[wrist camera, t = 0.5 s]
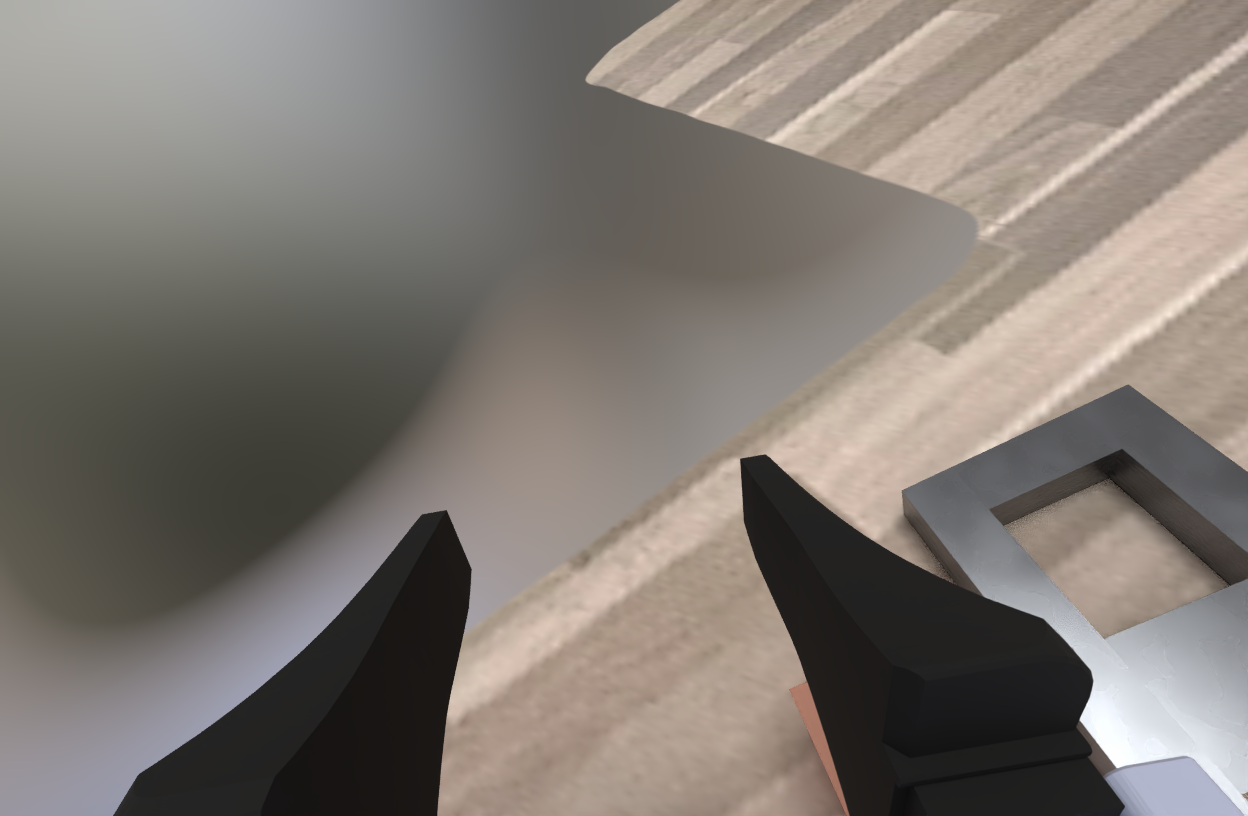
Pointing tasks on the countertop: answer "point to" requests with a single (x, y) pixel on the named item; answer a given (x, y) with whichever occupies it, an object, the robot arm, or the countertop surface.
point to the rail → (1121, 664)
